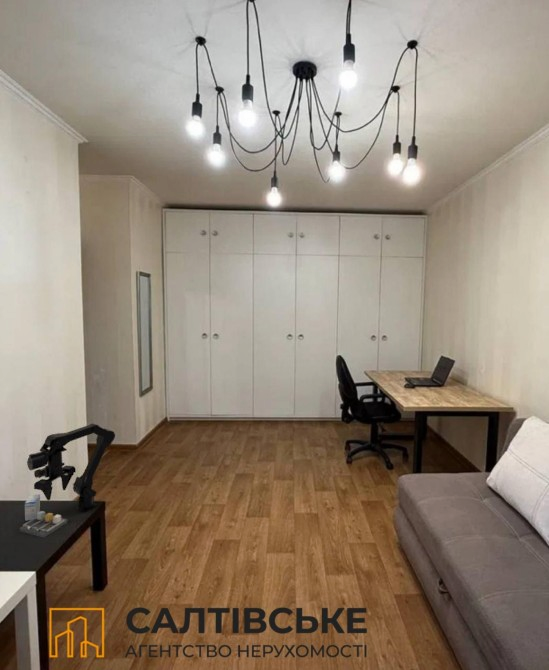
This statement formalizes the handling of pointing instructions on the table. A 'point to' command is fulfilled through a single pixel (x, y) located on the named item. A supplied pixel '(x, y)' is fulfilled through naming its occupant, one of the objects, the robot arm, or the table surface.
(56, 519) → the slider cream
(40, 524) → the panel
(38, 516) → the slider blue
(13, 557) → the table surface
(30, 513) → the medicine box
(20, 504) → the table surface
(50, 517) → the slider amber
